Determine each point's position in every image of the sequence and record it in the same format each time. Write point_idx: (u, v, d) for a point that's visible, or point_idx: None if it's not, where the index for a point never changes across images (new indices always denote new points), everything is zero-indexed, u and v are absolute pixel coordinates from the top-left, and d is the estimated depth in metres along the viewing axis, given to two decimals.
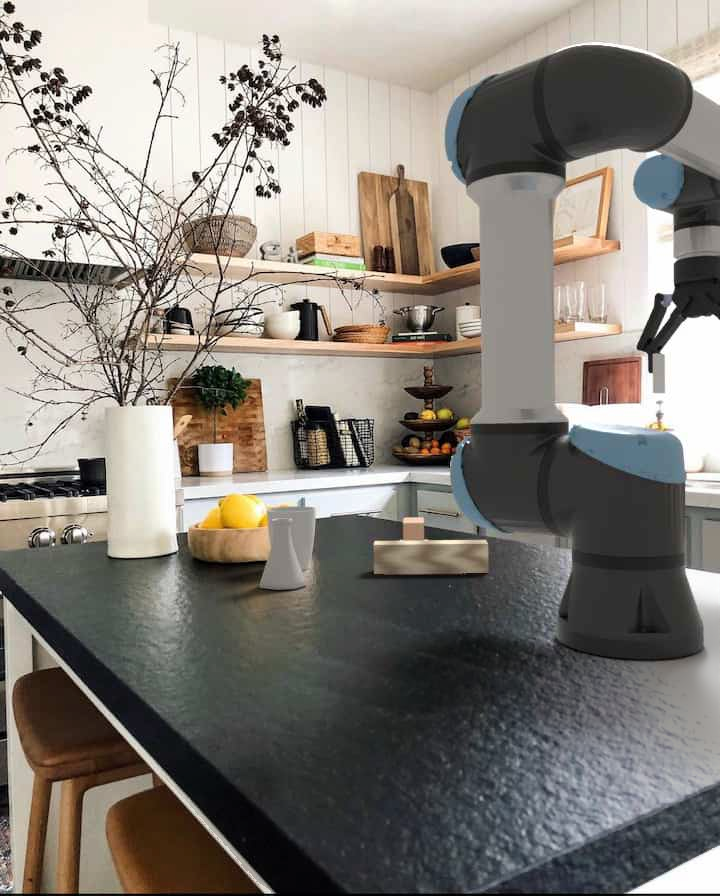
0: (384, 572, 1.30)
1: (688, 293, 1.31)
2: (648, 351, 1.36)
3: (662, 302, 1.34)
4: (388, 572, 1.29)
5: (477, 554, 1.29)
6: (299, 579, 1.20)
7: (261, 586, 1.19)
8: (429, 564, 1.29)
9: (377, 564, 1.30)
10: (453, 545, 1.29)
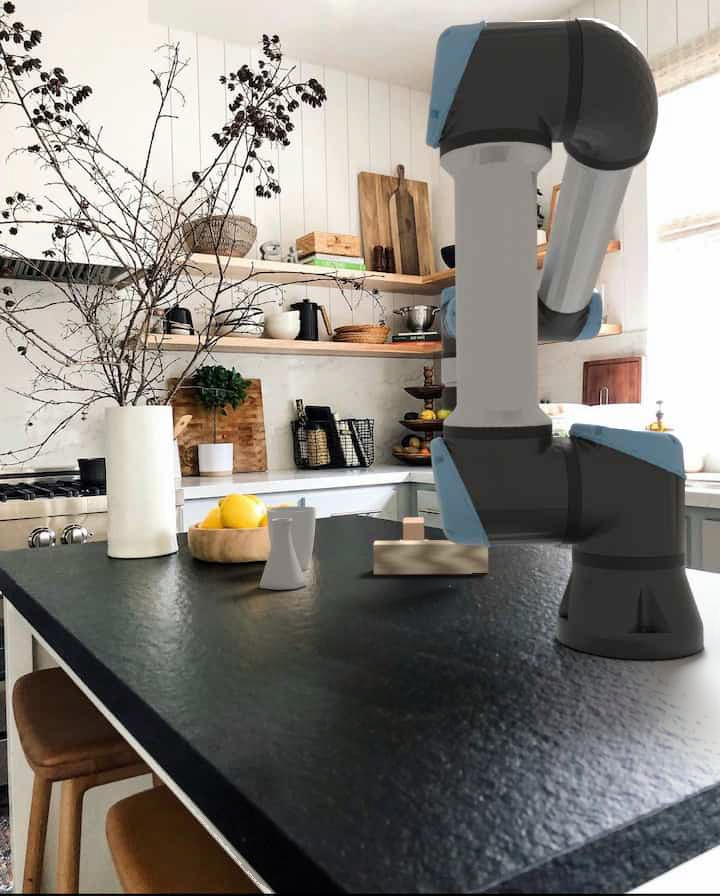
0: (384, 572, 1.30)
1: None
2: None
3: None
4: (388, 572, 1.30)
5: (477, 554, 1.28)
6: (299, 579, 1.20)
7: (261, 586, 1.19)
8: (429, 564, 1.29)
9: (377, 564, 1.30)
10: (453, 545, 1.29)
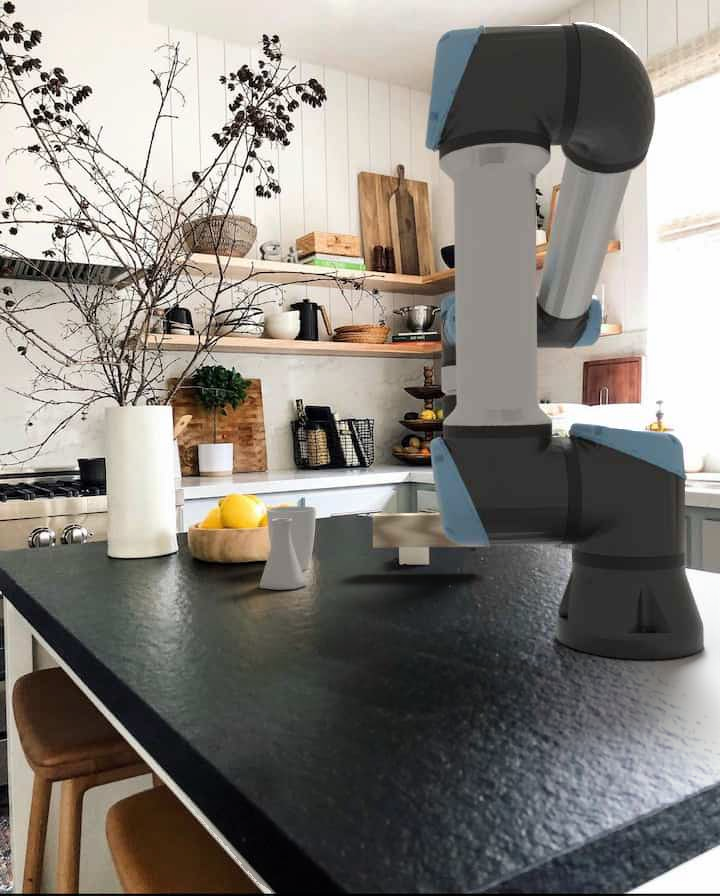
0: (383, 543, 1.29)
1: None
2: None
3: None
4: (387, 543, 1.29)
5: None
6: (299, 579, 1.20)
7: (261, 586, 1.19)
8: (428, 536, 1.28)
9: (376, 535, 1.29)
10: None
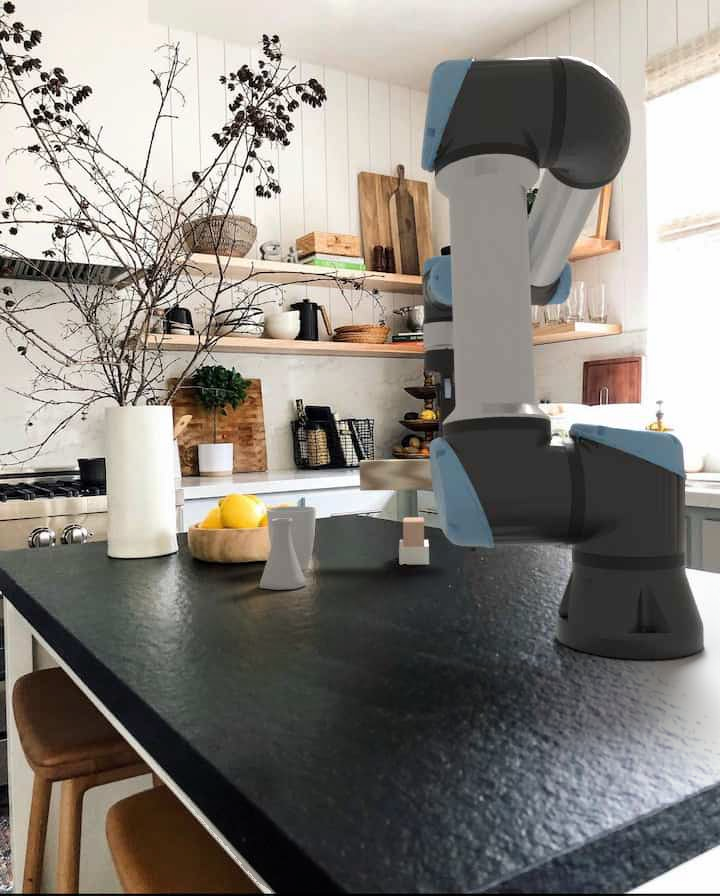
0: (369, 487, 1.40)
1: None
2: None
3: None
4: (373, 487, 1.40)
5: None
6: (299, 579, 1.20)
7: (261, 586, 1.19)
8: (411, 479, 1.39)
9: (362, 479, 1.40)
10: None
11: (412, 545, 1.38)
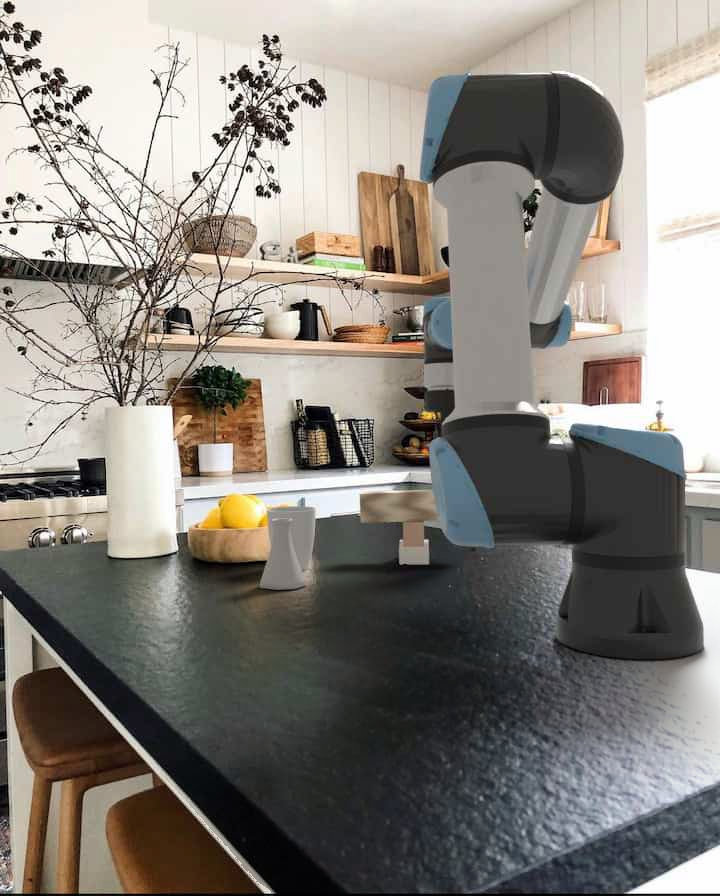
0: (370, 519, 1.40)
1: None
2: None
3: None
4: (373, 519, 1.40)
5: None
6: (299, 579, 1.20)
7: (261, 586, 1.19)
8: (411, 511, 1.40)
9: (363, 512, 1.40)
10: None
11: (412, 545, 1.38)
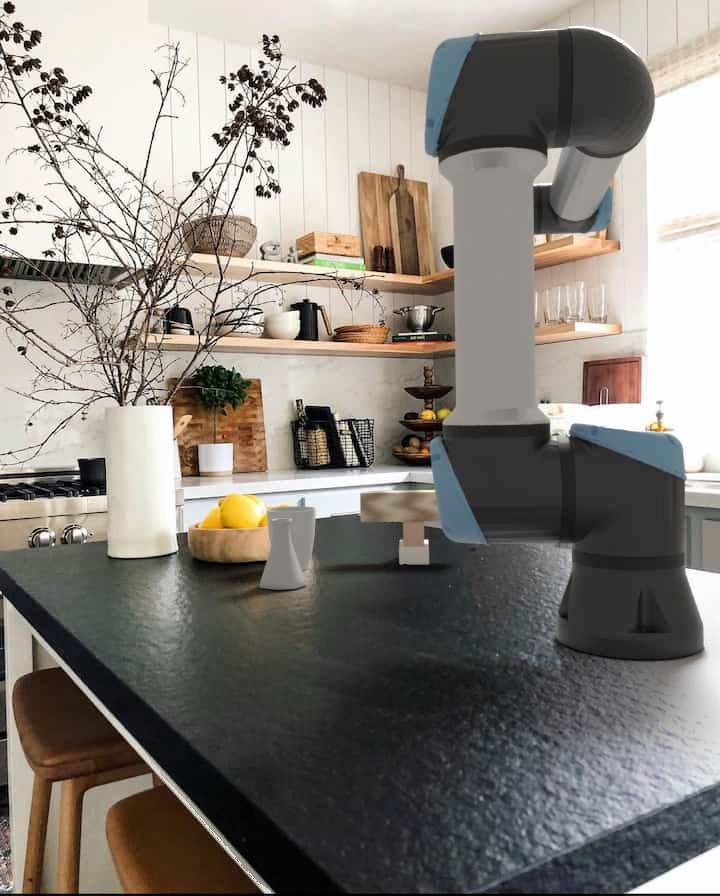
0: (370, 518, 1.40)
1: None
2: None
3: None
4: (373, 518, 1.40)
5: None
6: (299, 579, 1.20)
7: (261, 586, 1.19)
8: (411, 511, 1.40)
9: (363, 511, 1.40)
10: (433, 493, 1.39)
11: (412, 545, 1.38)
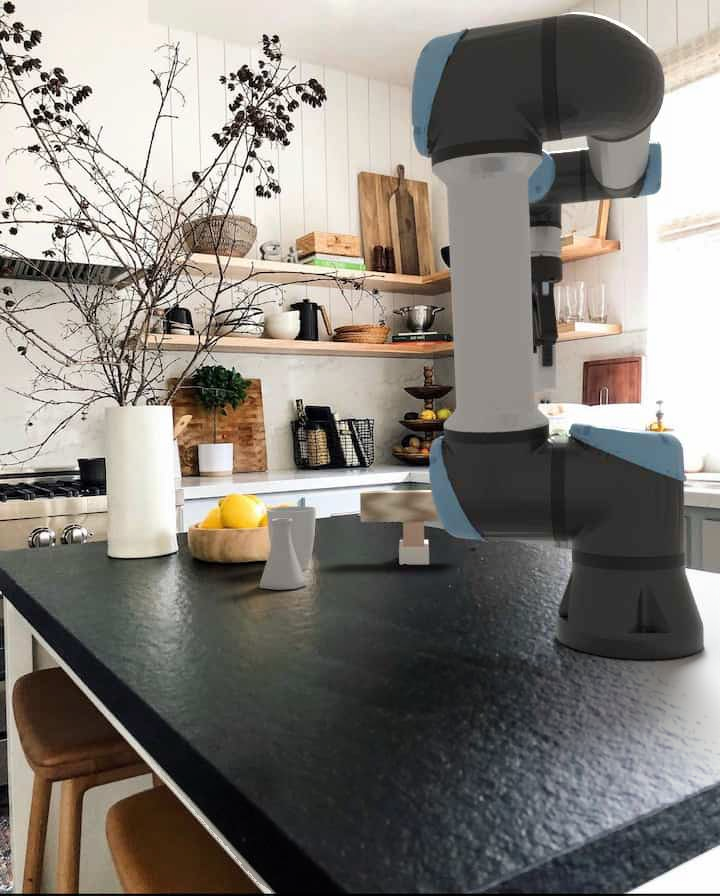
0: (370, 518, 1.40)
1: None
2: None
3: None
4: (373, 518, 1.40)
5: None
6: (299, 579, 1.20)
7: (261, 586, 1.19)
8: (411, 511, 1.40)
9: (363, 511, 1.40)
10: None
11: (412, 545, 1.38)
